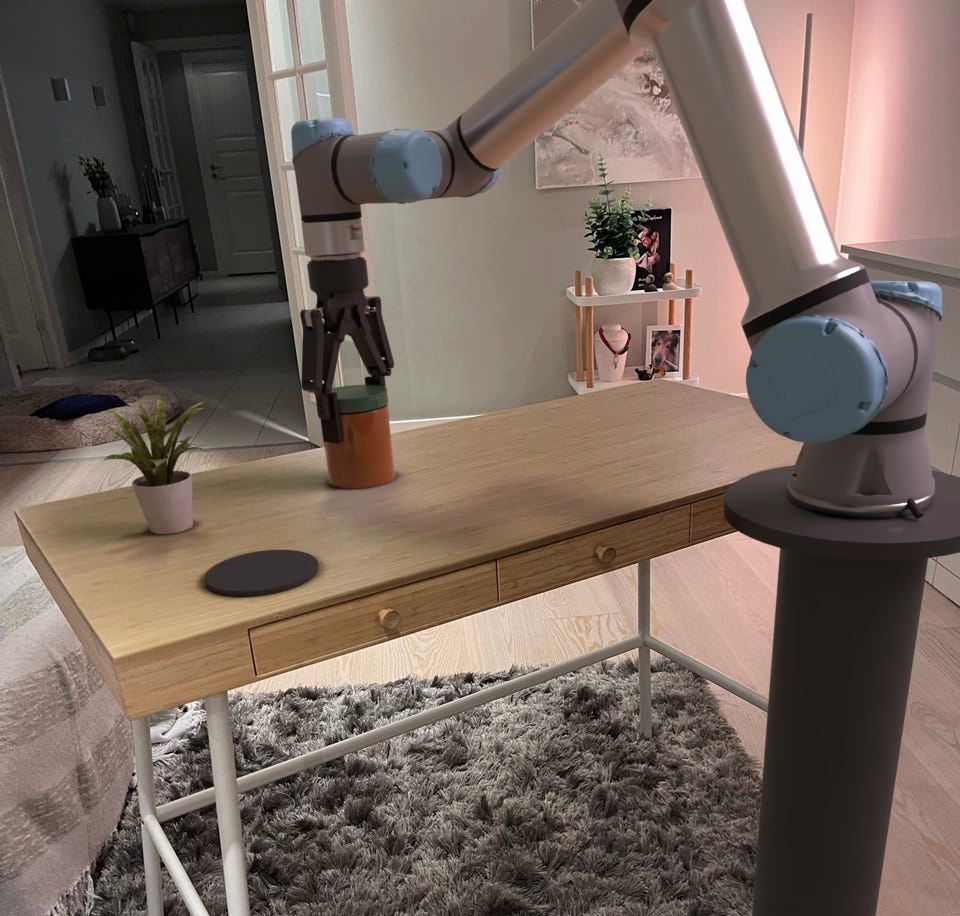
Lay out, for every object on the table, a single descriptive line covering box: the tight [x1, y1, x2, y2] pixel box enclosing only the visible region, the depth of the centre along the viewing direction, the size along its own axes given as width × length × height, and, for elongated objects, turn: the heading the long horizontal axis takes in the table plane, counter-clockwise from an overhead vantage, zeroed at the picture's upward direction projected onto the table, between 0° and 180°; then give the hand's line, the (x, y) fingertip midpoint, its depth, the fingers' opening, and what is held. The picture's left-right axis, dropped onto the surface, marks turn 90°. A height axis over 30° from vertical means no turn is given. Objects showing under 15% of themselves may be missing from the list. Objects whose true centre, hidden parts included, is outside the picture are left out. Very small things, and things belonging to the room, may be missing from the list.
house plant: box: [100, 393, 209, 535], centre depth 117 cm, size 14×14×16 cm
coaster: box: [204, 549, 320, 597], centre depth 104 cm, size 12×12×1 cm
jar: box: [323, 403, 396, 490], centre depth 133 cm, size 9×9×12 cm
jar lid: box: [331, 384, 389, 413], centre depth 130 cm, size 10×9×2 cm
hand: (356, 432), depth 132 cm, fingers closed on jar lid, 9 cm apart
